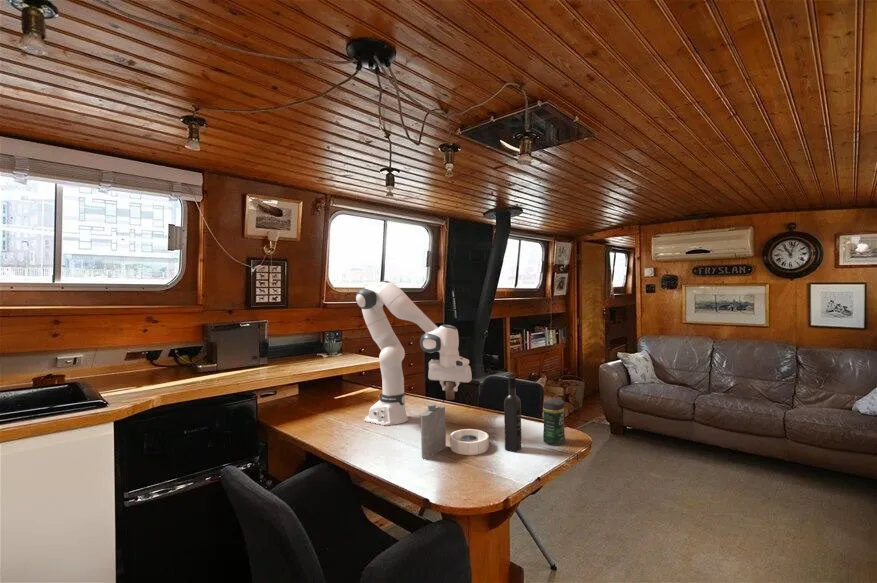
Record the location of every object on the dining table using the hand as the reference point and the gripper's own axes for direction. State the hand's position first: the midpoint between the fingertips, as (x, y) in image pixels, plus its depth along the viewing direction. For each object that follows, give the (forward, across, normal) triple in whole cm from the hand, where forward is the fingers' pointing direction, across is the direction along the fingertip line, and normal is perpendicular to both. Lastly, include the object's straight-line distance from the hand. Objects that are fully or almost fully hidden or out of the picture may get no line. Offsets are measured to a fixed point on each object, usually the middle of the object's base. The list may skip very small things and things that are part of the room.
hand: (450, 390), depth 192 cm
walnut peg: (+4, 0, 0) cm, 4 cm away
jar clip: (+21, +12, -10) cm, 26 cm away
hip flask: (+21, 0, -20) cm, 29 cm away
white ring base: (+21, +12, -10) cm, 26 cm away
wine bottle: (+21, +30, -6) cm, 37 cm away
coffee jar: (+21, +45, +8) cm, 50 cm away
